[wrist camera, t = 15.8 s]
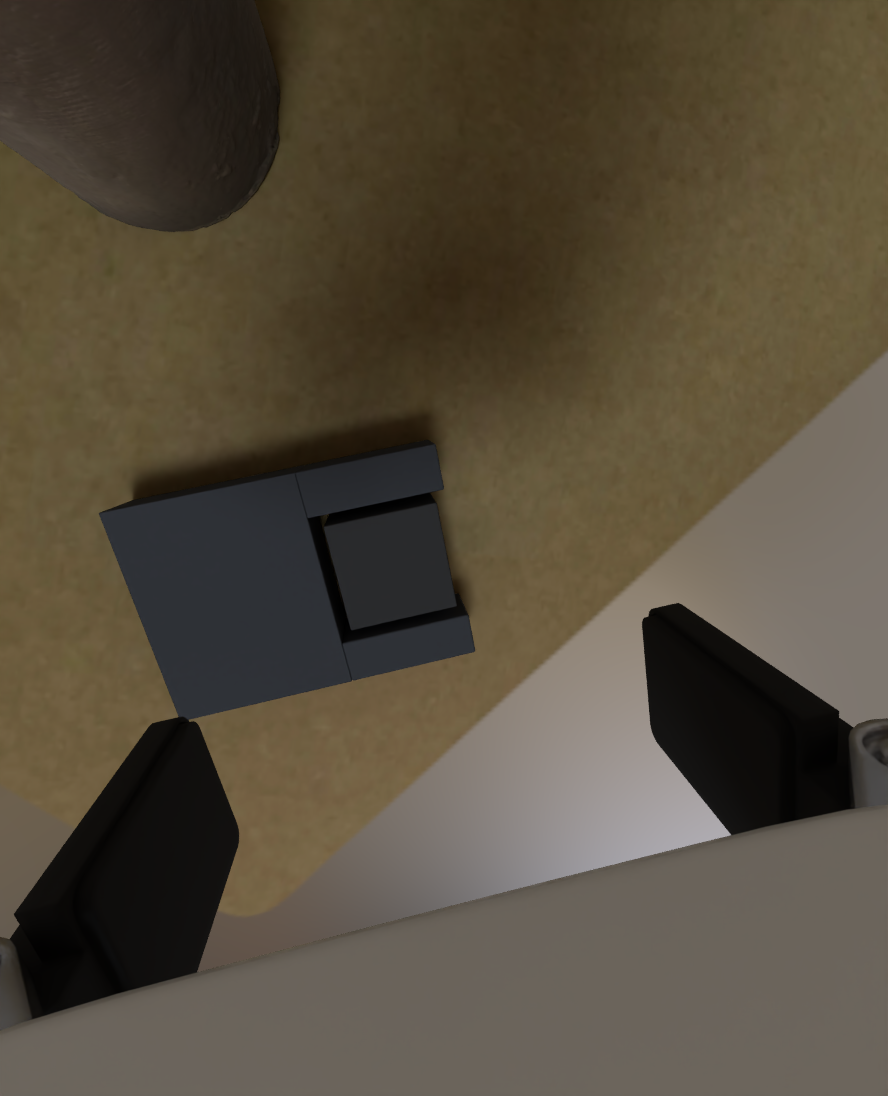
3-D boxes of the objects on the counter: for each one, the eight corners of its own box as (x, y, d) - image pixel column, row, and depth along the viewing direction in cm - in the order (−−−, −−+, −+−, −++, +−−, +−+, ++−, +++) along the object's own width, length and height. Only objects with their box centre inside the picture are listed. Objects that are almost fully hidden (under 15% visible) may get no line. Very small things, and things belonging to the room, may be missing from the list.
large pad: (428, 439, 25) (435, 443, 22) (465, 626, 27) (475, 652, 24) (132, 500, 24) (98, 513, 21) (201, 687, 26) (180, 721, 24)
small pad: (429, 491, 25) (436, 502, 22) (448, 585, 27) (457, 606, 24) (329, 513, 25) (323, 526, 22) (353, 606, 26) (351, 630, 23)
